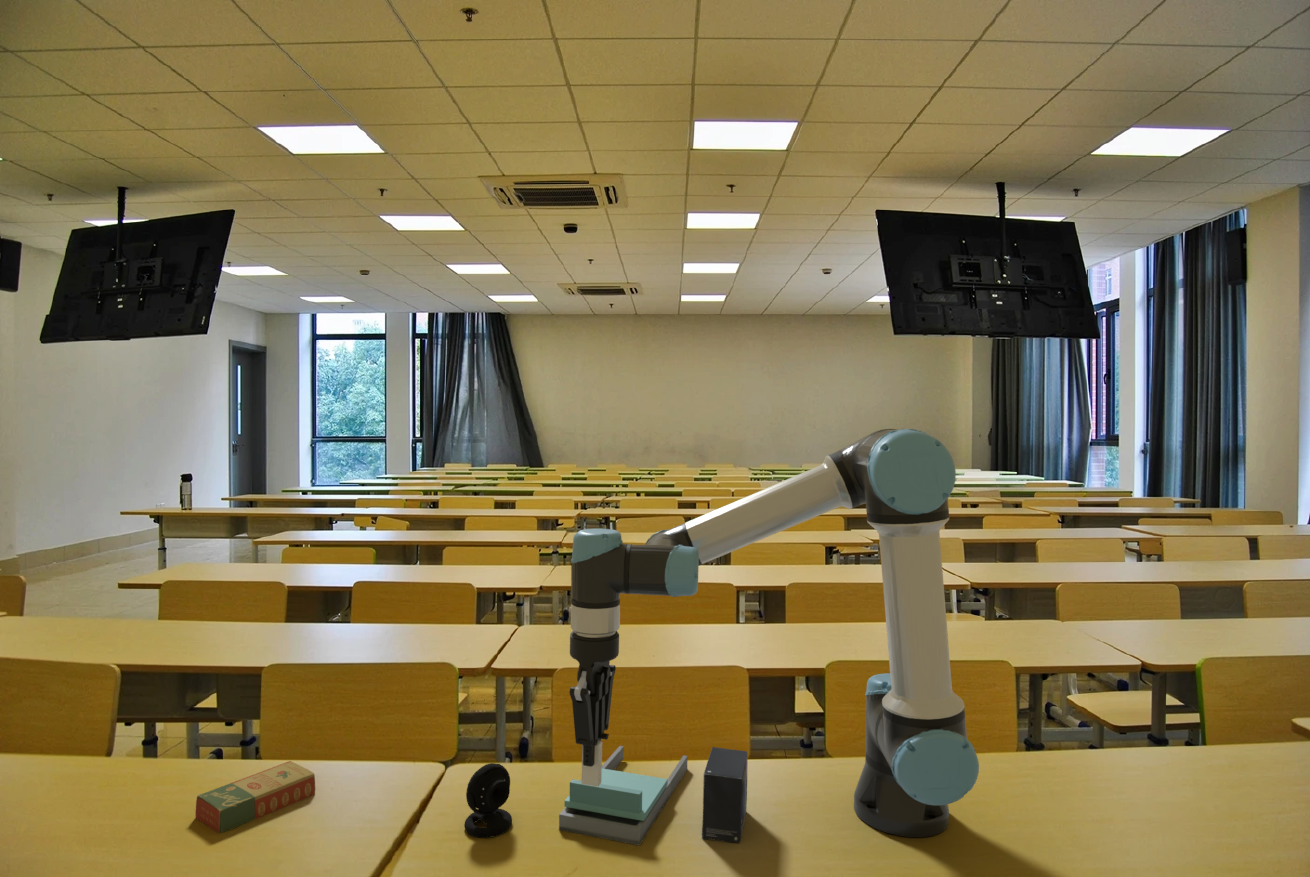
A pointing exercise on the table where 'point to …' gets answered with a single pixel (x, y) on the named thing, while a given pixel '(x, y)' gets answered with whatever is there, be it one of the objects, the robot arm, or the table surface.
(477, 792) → the webcam
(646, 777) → the lid
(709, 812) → the small box
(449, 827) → the table surface
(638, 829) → the tray
